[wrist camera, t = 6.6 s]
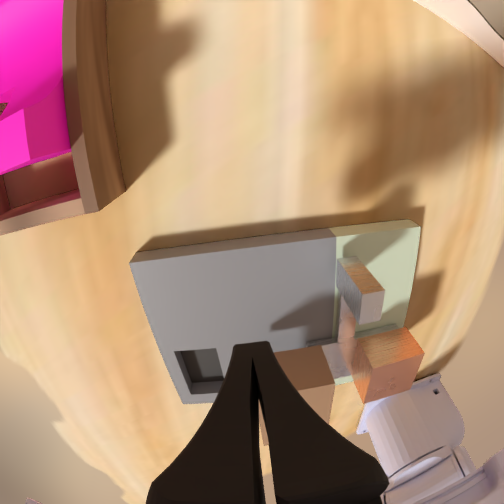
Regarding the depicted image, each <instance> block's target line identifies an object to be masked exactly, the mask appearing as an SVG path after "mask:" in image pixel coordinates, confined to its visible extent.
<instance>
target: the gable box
mask: <svg viewBox="0 0 504 504" xmlns="http://www.w3.org/2000/svg"><path fill="white" fill-rule="evenodd" d="M413 1H415V2H416V3H418V4H420V5H422V6H423V7H425V8H426V9H428V10H430V11H431V12H433V13H434V14H436V15H438V16H439V17H441V18H442V19H444V20H445V21H447V22H448V23H449V24H451V25H452V26H454V27H455V28H456V29H458V30H459V31H461V32H462V33H463V34H465V35H466V36H467V37H468V38H470V39H471V40H472V41H474V42H475V43H476V44H477V45H479V46H480V47H481V48H482V49H483V50H484V51H486V52H487V53H488V54H489V55H490V56H491V57H493V58H494V59H495V60H496V61H497V62H498V63H499V64H500V65H501V66H502V67H503V68H504V0H413Z"/></svg>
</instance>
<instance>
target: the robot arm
mask: <svg viewBox="0 0 504 504" xmlns="http://www.w3.org/2000/svg"><path fill="white" fill-rule="evenodd" d="M440 378H441V374H440V373H437V374H434V375H432V376H429V377H426V378H424V379H421V380H418V381H415V382H413V384H412V387H411V389H410V390H407V391H404V392H401V393H398V394H395V395H392V396H389V397H386V398H382V399H379V400H375V401H372V402H368V403H365V406H364V409H363V412H362V416H361V419H360V422H359V425H358V428H357V430H356V433H357V434H362V433H366V432H369V434H370V437H371V439H372V442H373V445H374V447H375V450H376V453H377V455H378V458H379V461H380V464H381V465H380V464H379V463H378V461H377V460H376V459H375V458H374V457H373V456H371V455H369V454H368V453H366V452H364V451H363V450H361V449H360V448H358V447H357V446H355V445H354V444H352V443H351V442H350V441H348V440H347V439H346V438H344V437H343V436H342V435H341V434H339V433H338V432H337V431H336V430H335V429H333V428H332V427H331V426H330V425H329V424H328V423H326V422H325V421H324V420H323V419H322V418H321V417H320V416H319V415H318V414H317V413H316V412H315V411H314V410H313V409H312V408H311V407H310V405H309V404H308V403H307V402H306V401H305V400H304V399H303V397H302V396H301V395H300V394H299V392H298V391H297V390H296V388H295V387H294V386H293V384H292V383H291V382H290V380H289V379H288V377H287V375H286V374H285V372H284V371H283V369H282V368H281V366H280V364H279V362H278V361H277V359H276V357H275V355H274V353H273V350H272V348H271V345H270V342H268V341H260V342H252V343H243V344H235V345H234V346H233V350H232V355H231V359H230V363H229V366H228V369H227V372H226V375H225V378H224V380H223V383H222V386H221V388H220V390H219V392H218V394H217V397H216V399H215V401H214V403H213V405H212V407H211V409H210V411H209V413H208V414H207V416H206V418H205V419H204V421H203V423H202V424H201V426H200V427H199V429H198V430H197V432H196V433H195V435H194V436H193V438H192V439H191V441H190V442H189V443H188V445H187V446H186V447H185V448H184V449H183V451H182V452H181V453H180V454H179V455H178V457H177V458H176V459H175V460H174V461H173V462H172V463H171V464H170V466H169V467H167V468H166V469H165V470H164V471H163V472H162V473H161V474H160V475H159V476H158V477H157V478H156V479H155V480H154V481H153V482H152V484H151V486H150V489H149V492H148V496H147V500H146V504H266V502H265V493H264V485H263V477H262V469H261V460H260V450H259V402H260V406H261V411H262V415H263V419H264V424H265V428H266V432H267V436H268V442H269V450H270V458H271V466H272V474H273V482H274V490H275V497H276V503H277V504H504V448H503V449H501V450H500V451H499V452H497V453H496V454H494V455H493V456H492V457H491V458H489V459H488V460H487V461H486V462H485V463H484V464H483V466H482V467H480V468H478V469H477V470H476V468H475V466H474V464H473V462H472V460H471V458H470V456H469V454H468V452H467V450H466V448H465V447H464V446H459V445H460V444H461V442H462V440H463V437H464V422H463V419H462V416H461V414H460V412H459V411H458V409H457V407H456V406H455V404H454V402H453V401H452V399H451V398H450V396H449V394H448V393H447V391H446V390H445V388H444V387H443V385H442V383H441V382H440ZM381 466H382V467H381ZM25 504H42V503H40V502H38V501H35V500H33V499H31V498H29V497H28V498H26V502H25Z"/></svg>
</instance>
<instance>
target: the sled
mask: <svg viewBox="0 0 504 504" xmlns="http://www.w3.org/2000/svg"><path fill="white" fill-rule="evenodd" d="M336 287H337V289H338V305H337V319H336V332H335V337H333V338H328V339H323V340H317V341H311V342H306V347H311V346H317V345H321V346H322V349H323V352H324V354H325V357H326V360H327V362H328V365H329V368H330V370H331V373H332V376H333V378H334V379H337V378H342V377H346V376H350V375H351V376H352V378H353V380H354V383H355V385H356V388H357V390H358V392H359V395H360V397H361V399H362V402H363V404H365V403H368V402H372V401H375V400H379V399H382V398H386V397H389V396H392V395H395V394H398V393H401V392H404V391H407V390H410V389H411V387H412V384H413V382H414V379H415V377H416V374H417V372H418V369H419V367H420V364H421V361H422V359H423V356H424V351H423V350H422V349H421V347H420V346H419V344H418V343H417V342H416V340H415V339H414V337H413V336H412V335H411V333H410V332H409V331H408V329H407V328H406V327H403V328H398V326H397V325H396V324H392V325H388V326H384V327H380V328H376V329H371V330H367V331H362V332H358V333H355V326H356V321H357V323H358V324H359V325H361V324H366V323H371V322H375V321H380V319H381V314H382V308H383V302H384V295H385V289H384V288H383V287H382V286H381V285H380V283H379V282H378V281H377V280H376V278H375V277H374V276H373V275H372V274H371V273H370V271H369V270H368V269H367V268H366V267H365V265H364V264H363V263H362V262H361V261H360V260H359V258H358V257H357V256H350V257H343V258H337V267H336Z"/></svg>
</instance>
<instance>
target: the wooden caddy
mask: <svg viewBox="0 0 504 504" xmlns="http://www.w3.org/2000/svg"><path fill="white" fill-rule="evenodd" d="M62 69H63V86H64V98H65V108H66V117H67V125H68V132H69V139H70V145H71V151H72V157H73V162H74V168H75V173H76V177H77V182H78V187H79V189H76V190H73V191H69V192H65V193H62V194H58V195H55V196H51V197H48V198H45V199H41V200H38V201H35V202H32V203H28V204H25V205H22V206H19V207H16V208H13V209H10V205H9V202H8V197H7V193H6V189H5V184H4V180H3V175H0V235H4V234H7V233H11V232H15V231H18V230H22V229H26V228H30V227H33V226H37V225H41V224H45V223H49V222H53V221H58V220H62V219H66V218H70V217H75V216H79V215H84V214H88V213H93V212H98V211H100V210H101V209H103V208H104V207H105V206H107V205H108V204H109V203H111V202H112V201H113V200H115V199H116V198H117V197H119V196H120V195H121V194H123V193H124V192H126V189H125V184H124V179H123V174H122V169H121V164H120V158H119V152H118V146H117V140H116V133H115V126H114V119H113V111H112V103H111V94H110V84H109V73H108V59H107V39H106V0H64V1H63V16H62Z"/></svg>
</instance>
